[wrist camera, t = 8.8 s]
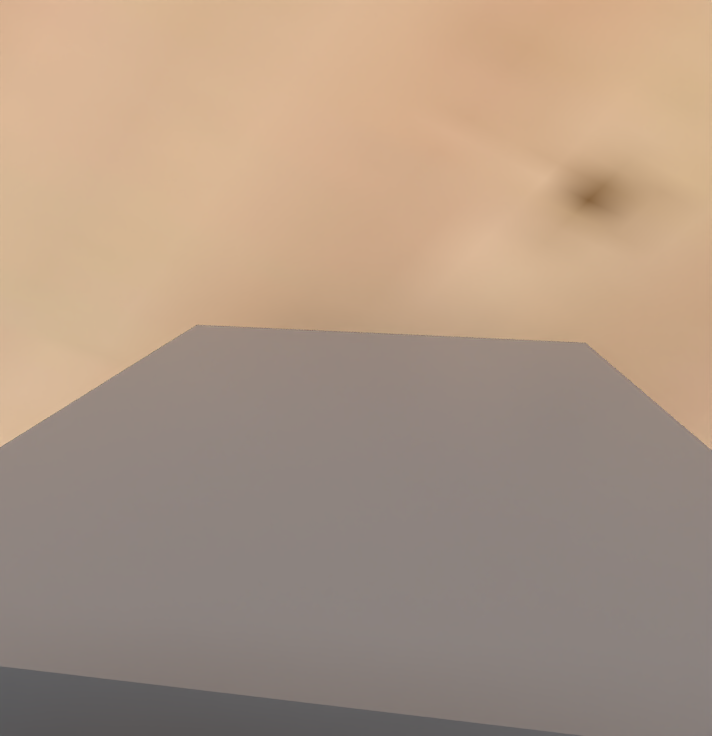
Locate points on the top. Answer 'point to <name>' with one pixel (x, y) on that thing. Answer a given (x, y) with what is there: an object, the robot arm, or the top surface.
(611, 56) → the top surface
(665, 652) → the gray rectangular platform
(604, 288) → the top surface
